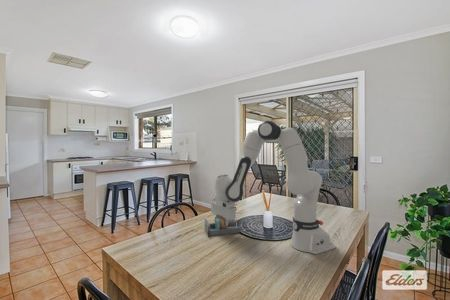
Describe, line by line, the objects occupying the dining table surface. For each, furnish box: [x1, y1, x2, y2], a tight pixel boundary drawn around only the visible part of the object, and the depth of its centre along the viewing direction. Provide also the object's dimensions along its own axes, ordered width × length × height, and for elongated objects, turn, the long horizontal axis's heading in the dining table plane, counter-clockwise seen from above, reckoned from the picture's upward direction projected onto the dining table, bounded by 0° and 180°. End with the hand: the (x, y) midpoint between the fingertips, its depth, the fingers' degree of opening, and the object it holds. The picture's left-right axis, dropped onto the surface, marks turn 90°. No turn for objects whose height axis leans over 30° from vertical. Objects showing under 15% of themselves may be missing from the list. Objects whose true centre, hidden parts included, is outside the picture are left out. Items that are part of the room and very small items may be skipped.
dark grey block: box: [204, 218, 242, 237], centre depth 134 cm, size 20×11×6 cm, turn 105°
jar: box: [218, 215, 228, 229], centre depth 134 cm, size 6×6×9 cm
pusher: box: [214, 216, 220, 229], centre depth 133 cm, size 1×8×7 cm, turn 15°
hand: (222, 223), depth 134 cm, fingers closed on jar, 6 cm apart
